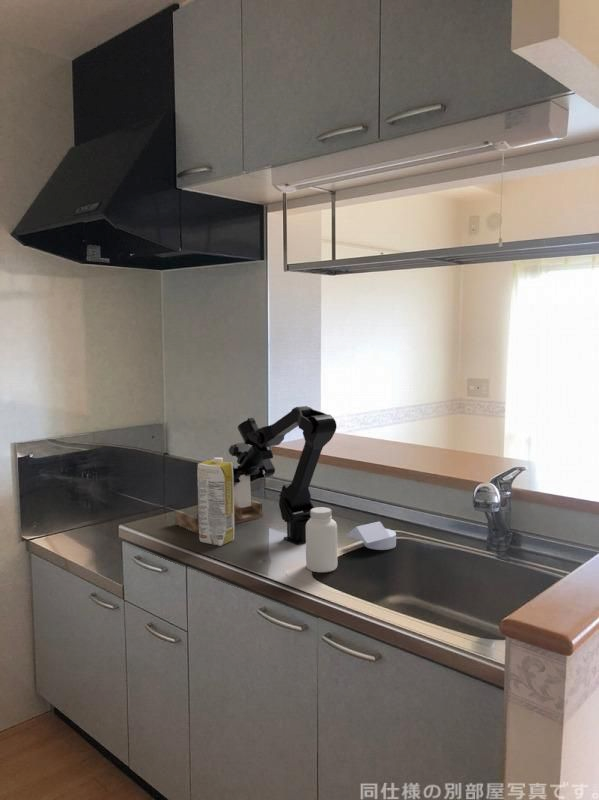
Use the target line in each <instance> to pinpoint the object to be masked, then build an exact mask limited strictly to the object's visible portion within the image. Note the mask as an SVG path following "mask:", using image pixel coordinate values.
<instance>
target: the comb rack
mask: <svg viewBox="0 0 599 800" xmlns="http://www.w3.org/2000/svg"><path fill="white" fill-rule="evenodd" d="M263 516H264V515H263V502H259V501H256V500H253V499H251V506H248V507H244V508H241V507H238V506H235V505H234V525H236V524H240V523H244V522H247V521H252V520H255V519H259V518H263ZM174 524H176V525H175V526H177V525H179V526H178V527H180V526H181V527H180V528H182V527H183V529H184V528H186V529H185V530H187V529H188V530H187V531H189V530H190V531H189V532H191V531H193V532H192V533H194V532H195V533H194V534H196V533H197V534H199V517H198V505H196V516H194V515H191V514H189V513H186V512H184V511H181V510H179V509H176V510H174Z"/></svg>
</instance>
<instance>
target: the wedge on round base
mask: <svg viewBox="0 0 599 800" xmlns="http://www.w3.org/2000/svg"><path fill="white" fill-rule="evenodd" d="M345 535H346V536H348V537H351V538H353V539H356V540H358V541H360V542H363V546H364V545H365V546H364V547H366V548H367V549H371V550H377V551H386V550H391V549H394V548H395V547H396V545H397V533H396V531H395V530H392V529H390V528H385V526H384V525H383V523H382V522H381V521H375V522H371V523H366V524H362V525H358V526H357V525H356V526H355V527H353V529H351V530H350V531H349V532H347V533H345Z"/></svg>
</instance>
